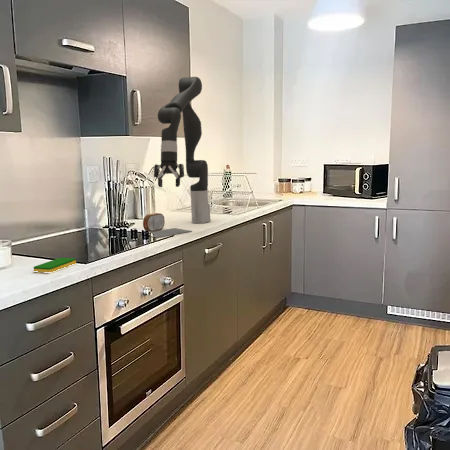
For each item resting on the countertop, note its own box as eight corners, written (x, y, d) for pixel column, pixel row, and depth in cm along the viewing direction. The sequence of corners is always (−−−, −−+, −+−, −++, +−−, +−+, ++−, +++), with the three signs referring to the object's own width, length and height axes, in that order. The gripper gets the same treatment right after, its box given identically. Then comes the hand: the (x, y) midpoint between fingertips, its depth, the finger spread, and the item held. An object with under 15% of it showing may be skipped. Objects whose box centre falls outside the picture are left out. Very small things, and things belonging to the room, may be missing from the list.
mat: (174, 228, 235) (174, 227, 235) (191, 231, 225) (191, 230, 225) (140, 234, 222) (140, 233, 222) (156, 238, 212) (156, 237, 212)
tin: (161, 228, 238) (159, 212, 237) (166, 228, 236) (164, 211, 236) (143, 233, 225) (141, 215, 224) (148, 232, 223) (146, 215, 222)
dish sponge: (33, 273, 159) (32, 266, 158) (60, 263, 171) (60, 257, 171) (50, 275, 156) (49, 267, 156) (76, 264, 169) (76, 258, 168)
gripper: (186, 152, 217) (186, 187, 217) (159, 153, 222) (158, 187, 222) (179, 150, 210) (179, 186, 210) (151, 151, 214) (151, 186, 215)
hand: (168, 186), depth 216 cm, fingers open, 8 cm apart
